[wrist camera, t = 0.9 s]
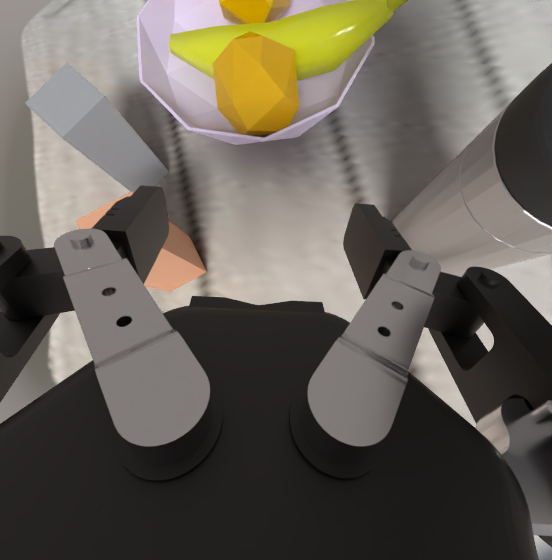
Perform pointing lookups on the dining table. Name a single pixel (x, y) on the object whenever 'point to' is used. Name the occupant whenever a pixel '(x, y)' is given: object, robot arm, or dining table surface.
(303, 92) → the fruit bowl
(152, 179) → the grey block
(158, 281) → the terracotta block
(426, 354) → the dining table surface
